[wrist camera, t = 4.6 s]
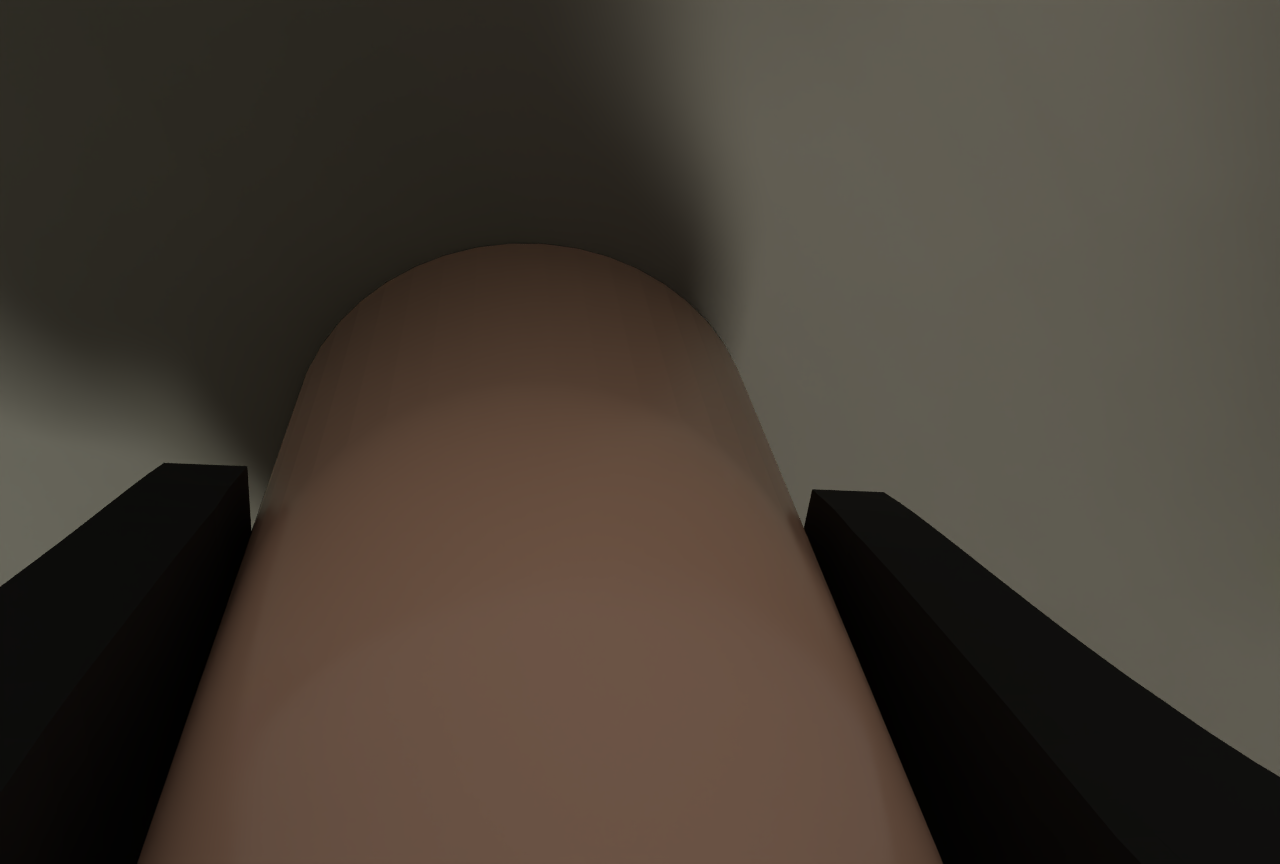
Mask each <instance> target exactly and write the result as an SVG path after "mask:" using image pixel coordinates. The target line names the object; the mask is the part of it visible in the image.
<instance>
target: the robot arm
mask: <svg viewBox="0 0 1280 864" xmlns="http://www.w3.org/2000/svg"><path fill="white" fill-rule="evenodd" d="M804 530H805V532H806V535H807V537H808V540H809V542H810V545H811V547H812V549H813V552H814V554H815V557H816V559H817V561H818V564H819V566H820V569H821V571H822V573H823V576H824V578H825V581H826V583H827V585H828V588H829V590H830V593H831V595H832V597H833V600H834V602H835V605H836V607H837V609H838V612H839V614H840V617H841V619H842V622H843V624H844V626H845V629H846V631H847V634H848V636H849V638H850V641H851V643H852V646H853V648H854V650H855V653H856V655H857V658H858V660H859V662H860V665H861V667H862V670H863V672H864V674H865V677H866V679H867V682H868V684H869V686H870V689H871V691H872V694H873V696H874V699H875V701H876V703H877V706H878V708H879V711H880V713H881V715H882V718H883V720H884V723H885V725H886V727H887V730H888V732H889V735H890V737H891V739H892V742H893V744H894V747H895V749H896V751H897V754H898V756H899V759H900V761H901V764H902V766H903V768H904V771H905V773H906V776H907V778H908V780H909V783H910V785H911V788H912V790H913V792H914V795H915V797H916V800H917V802H918V804H919V807H920V809H921V812H922V814H923V816H924V819H925V821H926V824H927V826H928V828H929V831H930V833H931V836H932V838H933V841H934V843H935V845H936V848H937V850H938V853H939V855H940V857H941V860H942V862H943V864H1280V777H1279V776H1277V775H1276V774H1274V773H1272V772H1271V771H1269V770H1267V769H1266V768H1264V767H1262V766H1261V765H1259V764H1257V763H1256V762H1254V761H1253V760H1251V759H1249V758H1248V757H1246V756H1245V755H1243V754H1242V753H1240V752H1239V751H1237V750H1235V749H1234V748H1232V747H1231V746H1229V745H1228V744H1226V743H1225V742H1223V741H1221V740H1220V739H1218V738H1217V737H1215V736H1214V735H1212V734H1211V733H1209V732H1208V731H1206V730H1205V729H1203V728H1202V727H1200V726H1199V725H1197V724H1196V723H1195V722H1193V721H1192V720H1190V719H1189V718H1187V717H1186V716H1184V715H1183V714H1181V713H1180V712H1179V711H1177V710H1176V709H1174V708H1173V707H1171V706H1170V705H1168V704H1167V703H1166V702H1164V701H1163V700H1161V699H1160V698H1158V697H1157V696H1155V695H1154V694H1153V693H1151V692H1150V691H1148V690H1147V689H1145V688H1144V687H1142V686H1141V685H1140V684H1138V683H1137V682H1135V681H1134V680H1132V679H1131V678H1129V677H1128V676H1127V675H1125V674H1124V673H1122V672H1121V671H1120V670H1118V669H1117V668H1116V667H1114V666H1113V665H1112V664H1110V663H1109V662H1107V661H1106V660H1105V659H1103V658H1102V657H1101V656H1099V655H1098V654H1096V653H1095V652H1094V651H1092V650H1091V649H1090V648H1088V647H1087V646H1086V645H1084V644H1083V643H1082V642H1080V641H1079V640H1078V639H1076V638H1075V637H1074V636H1072V635H1071V634H1070V633H1068V632H1067V631H1066V630H1064V629H1063V628H1062V627H1060V626H1059V625H1058V624H1056V623H1055V622H1054V621H1052V620H1051V619H1050V618H1049V617H1047V616H1046V615H1045V614H1043V613H1042V612H1041V611H1039V610H1038V609H1037V608H1036V607H1034V606H1033V605H1032V604H1030V603H1029V602H1028V601H1026V600H1025V599H1024V598H1023V597H1021V596H1020V595H1019V594H1018V593H1016V592H1015V591H1014V590H1012V589H1011V588H1010V587H1009V586H1007V585H1006V584H1005V583H1003V582H1002V581H1001V580H1000V579H998V578H997V577H996V576H995V575H993V574H992V573H991V572H989V571H988V570H987V569H986V568H984V567H983V566H982V565H981V564H979V563H978V562H977V561H976V560H974V559H973V558H972V557H970V556H969V555H968V554H967V553H965V552H964V551H963V550H962V549H960V548H959V547H958V546H956V545H955V544H954V543H953V542H951V541H950V540H949V539H948V538H946V537H945V536H944V535H942V534H941V533H940V532H938V531H937V530H936V529H935V528H933V527H932V526H931V525H929V524H928V523H927V522H925V521H924V520H923V519H921V518H920V517H919V516H917V515H916V514H915V513H913V512H912V511H911V510H909V509H908V508H906V507H905V506H904V505H902V504H901V503H899V502H898V501H896V500H895V499H893V498H892V497H890V496H889V495H887V494H886V493H884V492H863V491H839V490H814V489H812V494H811V498H810V503H809V507H808V512H807V517H806V521H805V526H804ZM250 534H251V519H250V503H249V486H248V470H247V466H226V465H201V464H176V463H163V464H162V465H160V466H159V467H157V468H156V469H155V470H153V471H152V472H150V473H149V474H147V475H146V476H145V477H143V478H142V479H141V480H139V481H138V482H137V483H135V484H134V485H133V486H132V487H130V488H129V489H128V490H126V491H125V492H124V493H122V494H121V495H120V496H119V497H117V498H116V499H115V500H113V501H112V502H111V503H110V504H108V505H107V506H106V507H105V508H103V509H102V510H101V511H99V512H98V513H97V514H96V515H94V516H93V517H92V518H90V519H89V520H88V521H87V522H85V523H84V524H83V525H81V526H80V527H79V528H78V529H76V530H75V531H74V532H72V533H71V534H70V535H68V536H67V537H66V538H65V539H63V540H62V541H61V542H59V543H58V544H57V545H55V546H54V547H53V548H51V549H50V550H49V551H47V552H46V553H45V554H43V555H42V556H41V557H39V558H38V559H37V560H35V561H34V562H33V563H31V564H30V565H29V566H27V567H26V568H25V569H23V570H22V571H21V572H19V573H18V574H17V575H15V576H14V577H13V578H11V579H10V580H9V581H7V582H6V583H5V584H3V585H2V586H1V587H0V864H137V862H138V859H139V856H140V854H141V851H142V848H143V845H144V842H145V839H146V836H147V833H148V830H149V827H150V825H151V822H152V819H153V816H154V813H155V810H156V807H157V804H158V801H159V798H160V795H161V793H162V790H163V787H164V784H165V781H166V778H167V775H168V772H169V769H170V766H171V764H172V761H173V758H174V755H175V752H176V749H177V746H178V743H179V740H180V737H181V734H182V732H183V729H184V726H185V723H186V720H187V717H188V714H189V711H190V708H191V705H192V703H193V700H194V697H195V694H196V691H197V688H198V685H199V682H200V679H201V676H202V674H203V671H204V668H205V665H206V662H207V659H208V656H209V653H210V650H211V647H212V644H213V642H214V639H215V636H216V633H217V630H218V627H219V624H220V621H221V618H222V615H223V613H224V610H225V607H226V604H227V601H228V598H229V595H230V592H231V589H232V586H233V583H234V581H235V578H236V575H237V572H238V569H239V566H240V563H241V560H242V557H243V554H244V552H245V549H246V546H247V543H248V540H249V537H250Z"/></svg>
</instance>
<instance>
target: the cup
mask: <svg viewBox="0 0 1280 864" xmlns="http://www.w3.org/2000/svg"><path fill="white" fill-rule="evenodd" d="M137 864H943V862H942V860H941V857H940V855H939V853H938V850H937V848H936V845H935V843H934V841H933V838H932V836H931V833H930V831H929V828H928V826H927V824H926V821H925V819H924V816H923V814H922V812H921V809H920V807H919V804H918V802H917V800H916V797H915V795H914V792H913V790H912V788H911V785H910V783H909V780H908V778H907V776H906V773H905V771H904V768H903V766H902V764H901V761H900V759H899V756H898V754H897V751H896V749H895V747H894V744H893V742H892V739H891V737H890V735H889V732H888V730H887V727H886V725H885V723H884V720H883V718H882V715H881V713H880V711H879V708H878V706H877V703H876V701H875V699H874V696H873V694H872V691H871V689H870V686H869V684H868V682H867V679H866V677H865V674H864V672H863V670H862V667H861V665H860V662H859V660H858V658H857V655H856V653H855V650H854V648H853V646H852V643H851V641H850V638H849V636H848V634H847V631H846V629H845V626H844V624H843V622H842V619H841V617H840V614H839V612H838V609H837V607H836V605H835V602H834V600H833V597H832V595H831V593H830V590H829V588H828V585H827V583H826V581H825V578H824V576H823V573H822V571H821V569H820V566H819V564H818V561H817V559H816V557H815V554H814V552H813V549H812V547H811V545H810V542H809V540H808V537H807V535H806V532H805V530H804V528H803V525H802V523H801V520H800V518H799V516H798V513H797V511H796V508H795V506H794V504H793V501H792V499H791V496H790V494H789V492H788V489H787V487H786V484H785V482H784V480H783V477H782V475H781V472H780V470H779V467H778V465H777V463H776V460H775V458H774V455H773V453H772V451H771V448H770V446H769V443H768V441H767V439H766V436H765V434H764V431H763V429H762V427H761V424H760V422H759V419H758V417H757V415H756V412H755V410H754V407H753V405H752V403H751V400H750V398H749V395H748V393H747V390H746V388H745V386H744V383H743V381H742V378H741V376H740V374H739V371H738V369H737V367H736V365H735V363H734V361H733V360H732V358H731V356H730V354H729V352H728V350H727V348H726V346H725V345H724V343H723V342H722V341H721V339H720V338H719V337H718V335H717V334H716V333H715V331H714V330H713V329H712V327H711V326H710V325H709V323H708V322H707V321H706V320H705V319H704V318H703V317H702V316H701V315H700V314H699V313H698V312H697V311H696V310H695V309H694V308H693V307H692V306H691V305H690V304H689V303H688V302H687V301H686V300H684V299H683V298H682V297H680V296H679V295H678V294H677V293H675V292H674V291H673V290H671V289H670V288H669V287H667V286H666V285H665V284H663V283H661V282H660V281H658V280H656V279H654V278H653V277H651V276H649V275H647V274H646V273H644V272H642V271H640V270H639V269H637V268H634V267H632V266H630V265H627V264H625V263H622V262H620V261H617V260H615V259H612V258H610V257H607V256H604V255H600V254H596V253H592V252H588V251H585V250H581V249H577V248H570V247H563V246H556V245H548V244H503V245H494V246H485V247H477V248H473V249H469V250H465V251H461V252H457V253H453V254H449V255H445V256H442V257H440V258H437V259H434V260H432V261H429V262H427V263H424V264H421V265H419V266H416V267H414V268H412V269H410V270H408V271H407V272H405V273H403V274H401V275H399V276H397V277H396V278H394V279H392V280H390V281H388V282H386V283H385V284H384V285H382V286H381V287H380V288H378V289H377V290H375V291H374V292H373V293H371V294H370V295H369V296H367V297H366V298H365V299H363V300H362V301H361V302H360V303H359V304H358V305H357V306H355V307H354V308H353V309H352V310H351V311H350V312H349V313H348V314H347V315H346V316H345V317H344V318H343V319H342V320H341V321H340V322H339V323H338V325H337V326H336V327H335V328H334V330H333V331H332V332H331V334H330V335H329V336H328V338H327V339H326V340H325V342H324V343H323V344H322V345H321V347H320V349H319V351H318V353H317V354H316V356H315V358H314V360H313V362H312V363H311V365H310V367H309V369H308V371H307V373H306V376H305V379H304V381H303V384H302V387H301V389H300V392H299V395H298V398H297V401H296V403H295V406H294V409H293V412H292V415H291V418H290V421H289V424H288V427H287V430H286V432H285V435H284V438H283V441H282V444H281V447H280V450H279V453H278V456H277V459H276V462H275V464H274V467H273V470H272V473H271V476H270V479H269V482H268V485H267V488H266V491H265V493H264V496H263V499H262V502H261V505H260V508H259V511H258V514H257V517H256V520H255V523H254V525H253V528H252V531H251V534H250V537H249V540H248V543H247V546H246V549H245V552H244V554H243V557H242V560H241V563H240V566H239V569H238V572H237V575H236V578H235V581H234V583H233V586H232V589H231V592H230V595H229V598H228V601H227V604H226V607H225V610H224V613H223V615H222V618H221V621H220V624H219V627H218V630H217V633H216V636H215V639H214V642H213V644H212V647H211V650H210V653H209V656H208V659H207V662H206V665H205V668H204V671H203V674H202V676H201V679H200V682H199V685H198V688H197V691H196V694H195V697H194V700H193V703H192V705H191V708H190V711H189V714H188V717H187V720H186V723H185V726H184V729H183V732H182V734H181V737H180V740H179V743H178V746H177V749H176V752H175V755H174V758H173V761H172V764H171V766H170V769H169V772H168V775H167V778H166V781H165V784H164V787H163V790H162V793H161V795H160V798H159V801H158V804H157V807H156V810H155V813H154V816H153V819H152V822H151V825H150V827H149V830H148V833H147V836H146V839H145V842H144V845H143V848H142V851H141V854H140V856H139V859H138V862H137Z"/></svg>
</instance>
